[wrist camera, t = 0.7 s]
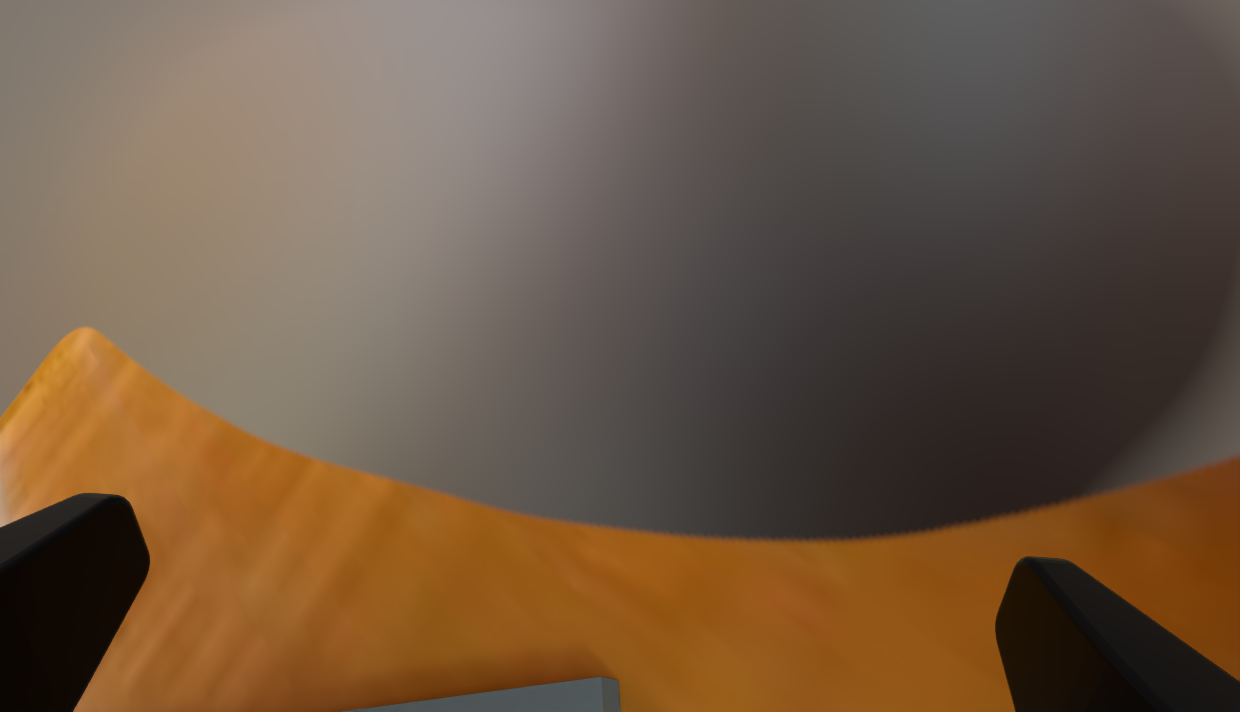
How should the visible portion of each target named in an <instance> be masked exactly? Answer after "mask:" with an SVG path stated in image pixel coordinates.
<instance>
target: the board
mask: <svg viewBox="0 0 1240 712" xmlns="http://www.w3.org/2000/svg"><path fill="white" fill-rule="evenodd" d="M342 712H620V701H619V686H618V680H615V679H610V678H605V677H595V678H588V679H580V680H573V681H565V682H558V683H550V684H543V685H535V686H528V687H521V688H513V689H506V690H498V691H491V692H483V693H476V694H468V695H461V696H454V697H446V698H439V699H431V700H424V701H416V702H409V703H401V704H394V705H387V706H379V707H372V708H364V709H357V710H349V711H342Z"/></svg>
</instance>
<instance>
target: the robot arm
mask: <svg viewBox="0 0 1240 712" xmlns="http://www.w3.org/2000/svg"><path fill="white" fill-rule="evenodd" d="M149 566H150V555H149V551H148V548H147V545H146V543H145V540H144V537H143V535H142V532H141V529H140V527H139V524H138V521H137V519H136V516H135V513H134V510H133V508H132V506H131V504H130V502H129V501H127V500H126V499H125V498H124V497H122V496H119V495H113V494H98V493H82V494H78V495H75V496H72V497H70V498H67V499H65V500H63V501H61V502H58V503H56V504H54V505H51V506H49V507H47V508H44V509H42V510H40V511H37V512H35V513H33V514H31V515H28V516H26V517H24V518H21V519H19V520H17V521H14V522H12V523H10V524H7V525H5V526H3V527H0V712H73V710H74V709H75V707H76V705H77V703H78V702H79V700H80V698H81V697H82V695H83V693H84V691H85V689H86V688H87V686H88V684H89V682H90V680H91V678H92V677H93V675H94V673H95V671H96V669H97V667H98V666H99V664H100V662H101V660H102V658H103V656H104V655H105V653H106V651H107V649H108V647H109V645H110V644H111V642H112V640H113V638H114V636H115V634H116V633H117V631H118V629H119V627H120V625H121V623H122V622H123V620H124V618H125V616H126V614H127V612H128V611H129V609H130V607H131V605H132V603H133V601H134V600H135V598H136V596H137V594H138V592H139V590H140V589H141V587H142V585H143V583H144V581H145V579H146V577H147V574H148V571H149ZM995 633H996V640H997V644H998V648H999V652H1000V656H1001V659H1002V663H1003V667H1004V671H1005V674H1006V678H1007V682H1008V685H1009V689H1010V693H1011V697H1012V700H1013V704H1014V708H1015V711H1016V712H1240V682H1239V681H1238V680H1237V679H1235V678H1234V677H1232V676H1231V675H1230V674H1228V673H1227V672H1225V671H1224V670H1223V669H1221V668H1220V667H1218V666H1217V665H1216V664H1214V663H1213V662H1211V661H1210V660H1209V659H1207V658H1206V657H1204V656H1203V655H1202V654H1200V653H1199V652H1197V651H1196V650H1195V649H1193V648H1192V647H1190V646H1189V645H1188V644H1186V643H1185V642H1183V641H1182V640H1180V639H1179V638H1178V637H1176V636H1175V635H1173V634H1172V633H1171V632H1169V631H1168V630H1166V629H1165V628H1164V627H1162V626H1161V625H1159V624H1158V623H1157V622H1155V621H1154V620H1152V619H1151V618H1150V617H1148V616H1147V615H1145V614H1144V613H1143V612H1141V611H1140V610H1138V609H1137V608H1136V607H1134V606H1133V605H1131V604H1130V603H1129V602H1127V601H1126V600H1124V599H1123V598H1122V597H1120V596H1119V595H1117V594H1116V593H1115V592H1113V591H1112V590H1110V589H1109V588H1108V587H1106V586H1105V585H1103V584H1102V583H1101V582H1099V581H1098V580H1096V579H1095V578H1094V577H1092V576H1091V575H1089V574H1088V573H1086V572H1085V571H1084V570H1082V569H1081V568H1079V567H1078V566H1077V565H1075V564H1073V563H1072V562H1070V561H1068V560H1065V559H1059V558H1044V557H1025V558H1022V559H1020V560H1019V561H1018V562H1017V563H1016V565H1015V567H1014V569H1013V572H1012V575H1011V578H1010V580H1009V583H1008V586H1007V588H1006V591H1005V594H1004V597H1003V599H1002V602H1001V605H1000V607H999V610H998V613H997V617H996V623H995Z"/></svg>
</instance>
